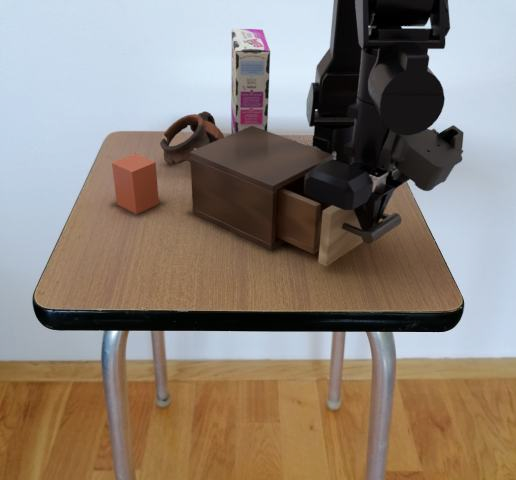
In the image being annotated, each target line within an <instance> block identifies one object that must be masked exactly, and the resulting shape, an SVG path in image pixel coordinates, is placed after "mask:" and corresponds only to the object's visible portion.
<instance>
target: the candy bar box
mask: <svg viewBox="0 0 516 480" xmlns="http://www.w3.org/2000/svg"><path fill="white" fill-rule="evenodd" d="M230 33H231V34H230V35H231V57H230V58H231V61H230V62H231V63H230V65H231V66H230V67H231V70H230V71H231V72H230V73H231V75H230V80H231V82H230V83H231V85H230V91H231V92H230V94H231V95H230V97H231V99H230V107H231V108H230V109H231V111H230V113H231V115H230V119H231V120H230V121H231V122H230V124H231V125H230V127H231V128H230V129H231V131H230V132H231V133H230V135H231V134H233V133H236V132H238V131H241V130H243V129H245V128H248V127H250V126H254V127H257V128H260V129H262V130H265V131H268V120H269V96H270V93H269V92H270V71H271V70H270V66H271V50H270V47H269V45H268V41H267V38H266V35H265V32H264V29H259V28H257V29H256V28H240V29H239V28H238V29H237V28H236V29H234V28H233V29H231V31H230Z"/></svg>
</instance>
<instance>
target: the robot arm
mask: <svg viewBox="0 0 516 480" xmlns="http://www.w3.org/2000/svg"><path fill="white" fill-rule="evenodd" d="M332 5H333V6H332V15H331V28H330V40H329V48H328V49H327V51H326V52H325V54H324V55H323V56H322V58H321V59H320V61H319V62H318V64H316V68H315V77H314V82H311V83H310V86H309V90H308V93H307V98H306V105H305V106H306V113H305V115H306V119H307V123H308V126H309V127H310V128H314V129H313V135H312V143H311V146H315V147H317V148H318V149H320V150H321V151H324V152H326V153H329V154H332V152H333V151H335V152H336V160H333V159H331V160H329V161H327V162H325V163H323V164H321V165H319V166H317V167H315V168H313V169H312V170H310V171H309V172H308V173H307V174H305V181H304V193H305V195H307V196H310V197H312V198H315V199H317V200H320V201H323V202H325V203H328V204H330V205H333V206H335V207H338V208H340V209H343V210H353V209H354V212H355V214H356V217H357V219H358V221H359V224H360V226H361V229H362V230H364V231H367V230H368V229H370V228H371V227H373V226H374V225H376V224H377V223H379V222H381V220H382V219H381V217H382V215H383V213H385V210H386V209H387V206H388V204H389V202H390V200H391V198H392V196H393V194H394V193H395V191H396V189H397V188H398V187H400V186H402V185H403V184H405V183H407V182H408V181H412V182H413V183H414V185H415V187H417V188H418V189H419V190H421V191H423V192H431V191H432V190H433V189H435V188H436V187H437V186H439V185H440V184H442V183H444V182H445V181H447V179H448V178H449V176H450V174H451V172H452V171H453V170H454V168H455V166H456V165H458V164H460V163H461V162H462V161H463V156H462V155H463V154H464V150H463V143H464V131H463V130H461V129H460V128H458V127H457V126H456V125H454V124H452V125H451V126H449V127H447V128H445V129H444V130H442V131H440V132H439V131H437V130H436V129H435V128H432V129H430V128H431V126H433V125H434V124H435V123H436V122H437V121H438V119H439V118H440V116H441V114H442V112H443V109H444V106H445V99H446V97H445V92H444V88H443V85H442V83H441V81H440V80H439V78H438V77H437V76H436V75H435V73H434V72H433V71H432V70H431V68H430V67H429V63H430V55H429V54H428V52H429V50H444V49H446V37H447V35H448V34H449V32H450V30H451V21H450V20H451V19H450V8H449V0H333V4H332ZM428 22H429V23H430V28H429V27H426V28H424V27H425V26H426V25H427V24H428ZM406 27H407V28H406ZM409 27H410V28H409ZM411 27H412V28H411ZM413 27H416V28H413ZM419 27H420V28H419ZM422 27H423V28H422Z"/></svg>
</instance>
